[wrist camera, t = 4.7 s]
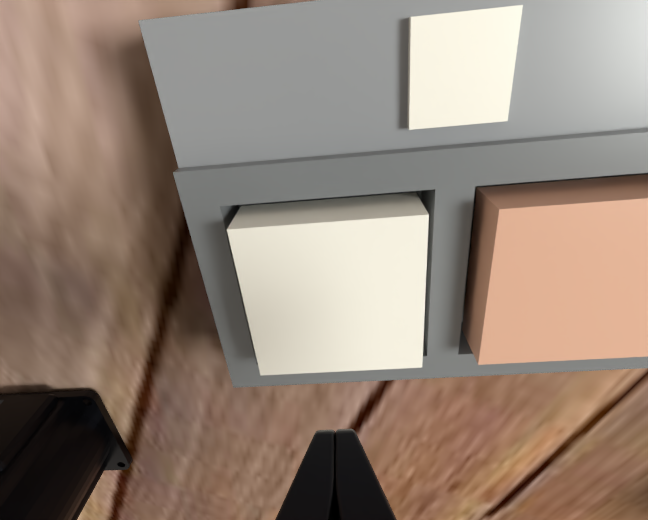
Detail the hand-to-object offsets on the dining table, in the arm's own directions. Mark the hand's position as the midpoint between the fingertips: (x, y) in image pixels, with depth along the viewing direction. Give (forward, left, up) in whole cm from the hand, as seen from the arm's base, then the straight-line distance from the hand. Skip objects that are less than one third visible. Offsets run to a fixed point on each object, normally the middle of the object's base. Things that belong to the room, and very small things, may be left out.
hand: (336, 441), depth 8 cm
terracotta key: (0, -8, -7) cm, 11 cm away
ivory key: (0, 0, -7) cm, 7 cm away
